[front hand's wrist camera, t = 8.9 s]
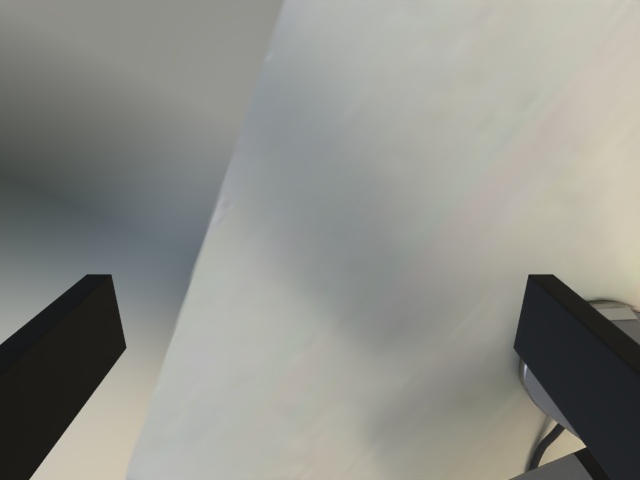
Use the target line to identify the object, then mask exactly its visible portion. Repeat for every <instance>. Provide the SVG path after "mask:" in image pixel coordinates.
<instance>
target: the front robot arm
mask: <svg viewBox="0 0 640 480" xmlns="http://www.w3.org/2000/svg"><path fill="white" fill-rule="evenodd" d="M125 349H126V343H125V338H124V334H123V329H122V324H121V319H120V314H119V309H118V304H117V300H116V295H115V290H114V285H113V280H112V275H108V274H107V275H105V274H104V275H103V274H102V275H101V274H91V275H90V274H87V275H86V276H85V277H83V278H82V279H81V280H80V281H78V282H77V283H76V284H75V285H73V286H72V287H71V288H70V289H68V290H67V291H66V292H65V293H64V294H62V295H61V296H60V297H59V298H57V299H56V300H55V301H54V302H52V303H51V304H50V305H49V306H48V307H46V308H45V309H44V310H43V311H41V312H40V313H39V314H38V315H36V316H35V317H34V318H33V319H31V320H30V321H29V322H28V323H27V324H25V325H24V326H23V327H22V328H20V329H19V330H18V331H17V332H16V333H14V334H13V335H12V336H11V337H9V338H8V339H7V340H6V341H4V342H3V343H2V344H1V345H0V480H29V479H30V478H31V477H32V475H33V474H34V472H35V471H36V470H37V468H38V467H39V466H40V464H41V463H42V462H43V460H44V459H45V458H46V456H47V455H48V454H49V452H50V451H51V449H52V448H53V447H54V445H55V444H56V443H57V441H58V440H59V439H60V437H61V436H62V435H63V433H64V432H65V430H66V429H67V428H68V426H69V425H70V424H71V422H72V421H73V420H74V418H75V417H76V416H77V414H78V413H79V412H80V410H81V409H82V407H83V406H84V405H85V403H86V402H87V401H88V399H89V398H90V397H91V395H92V394H93V393H94V391H95V390H96V388H97V387H98V386H99V384H100V383H101V382H102V380H103V379H104V378H105V376H106V375H107V374H108V372H109V371H110V370H111V368H112V367H113V365H114V364H115V363H116V361H117V360H118V359H119V357H120V356H121V355H122V353H123V352H124V351H125ZM514 349H515V351H516V352H517V353H518V355H519V356H520V357H521V358H520V364H519V374H520V379H521V383H522V385H523V387H524V389H525V391H526V392H527V394H528V395H529V397H530V398H531V400H532V401H533V402H534V403H535V405H536V406H537V407H538V408H540V409H541V410H542V411H543V412H544V413H545V414H547V415H548V416H550V417H551V418H553V419H554V420H555V421H556V422H558V424H557V425H556V426H555V427H554V429H553V430H552V431H551V432H550V433H549V434H548V435H547V436H546V437H545V438H544V439H543V440H542V441H541V443H540V444H539V445H538V447H537V449H536V451H535V453H534V456H533V458H532V461H531V465H530V468H529V471H528V472H526V473H524V474H521V475H519V476H516V477H514V478H512V479H509V480H640V311H639V310H637V309H635V308H633V307H631V306H629V305H626V304H623V303H619V302H613V301H594V302H586V301H585V300H584V299H583V298H581V297H580V296H579V295H578V294H576V293H575V292H574V291H573V290H572V289H570V288H569V287H568V286H567V285H565V284H564V283H563V282H562V281H560V280H559V279H558V278H557V277H555V276H554V275H553V274H529V275H528V280H527V285H526V290H525V295H524V300H523V304H522V309H521V314H520V319H519V324H518V329H517V334H516V338H515V343H514ZM565 428H566V429H567V430H568V431H570V432H571V433H572V434H574V435H575V436H576V437H578V438H579V439H581V440H582V441H583V443H584V444H585V445H586V448H583V449H581V450H579V451H576V452H574V453H571V454H569V455H566V456H564V457H562V458H559V459H557V460H554V461H552V462H550V463H547V464H545V465H543V466H540V467H538V464H539V462H540V459H541V457H542V455H543V453H544V451H545V450H546V448H547V447H548V446H549V445H550V444H551V443H552V442H553V441H554V440H555V439H556V438H557V437H558V436H559V435H560V434H561V433H562V431H563V430H564V429H565ZM537 467H538V468H537Z"/></svg>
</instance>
